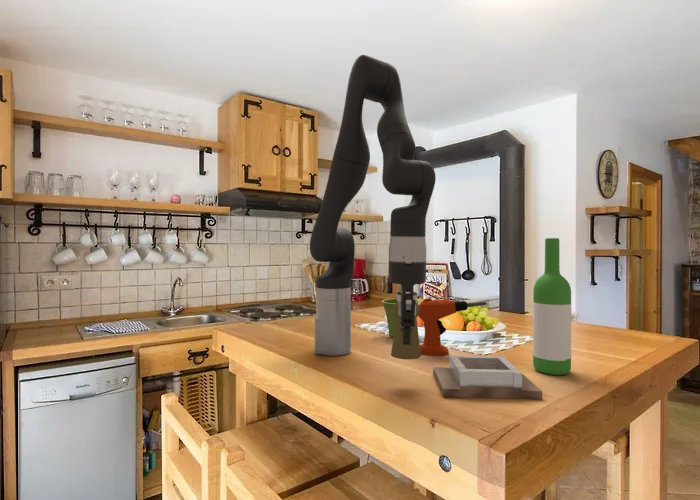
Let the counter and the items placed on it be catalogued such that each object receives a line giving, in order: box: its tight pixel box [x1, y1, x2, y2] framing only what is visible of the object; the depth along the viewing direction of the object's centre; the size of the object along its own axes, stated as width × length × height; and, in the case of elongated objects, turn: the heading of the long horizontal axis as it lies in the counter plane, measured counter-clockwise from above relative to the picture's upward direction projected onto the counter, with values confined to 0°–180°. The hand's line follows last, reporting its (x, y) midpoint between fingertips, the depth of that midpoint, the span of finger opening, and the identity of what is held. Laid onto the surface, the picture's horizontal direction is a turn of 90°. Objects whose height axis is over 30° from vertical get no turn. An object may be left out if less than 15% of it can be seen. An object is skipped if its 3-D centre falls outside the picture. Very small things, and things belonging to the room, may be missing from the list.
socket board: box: [432, 366, 543, 400], centre depth 84 cm, size 18×14×2 cm
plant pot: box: [381, 298, 421, 338], centre depth 130 cm, size 12×12×11 cm
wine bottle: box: [532, 237, 572, 376], centre depth 94 cm, size 8×8×30 cm
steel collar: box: [448, 354, 523, 389], centre depth 84 cm, size 11×12×3 cm
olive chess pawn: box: [390, 302, 422, 360], centre depth 84 cm, size 6×6×11 cm
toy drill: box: [418, 297, 488, 356], centre depth 109 cm, size 5×19×15 cm, turn 82°
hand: (405, 344), depth 84 cm, fingers closed on olive chess pawn, 3 cm apart
